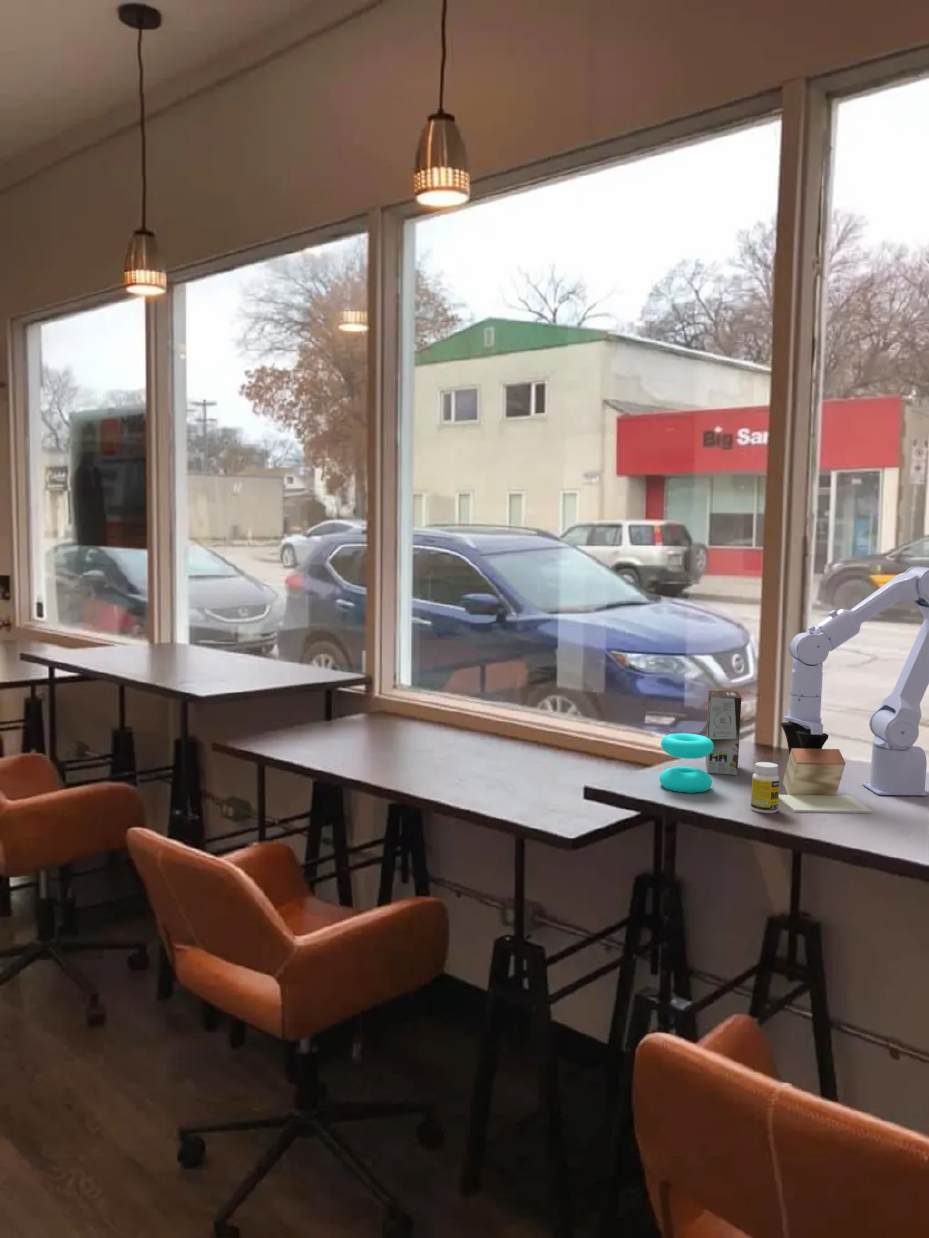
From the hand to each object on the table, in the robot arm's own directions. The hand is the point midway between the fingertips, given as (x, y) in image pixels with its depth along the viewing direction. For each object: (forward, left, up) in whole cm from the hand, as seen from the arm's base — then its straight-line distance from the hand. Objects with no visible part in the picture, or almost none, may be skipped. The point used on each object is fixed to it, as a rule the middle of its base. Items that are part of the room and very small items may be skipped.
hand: (802, 763), depth 194 cm
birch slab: (0, +4, -4) cm, 6 cm away
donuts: (+23, +1, -5) cm, 24 cm away
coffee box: (+12, -14, -5) cm, 19 cm away
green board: (0, +12, -5) cm, 13 cm away
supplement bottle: (+12, +15, -5) cm, 20 cm away
